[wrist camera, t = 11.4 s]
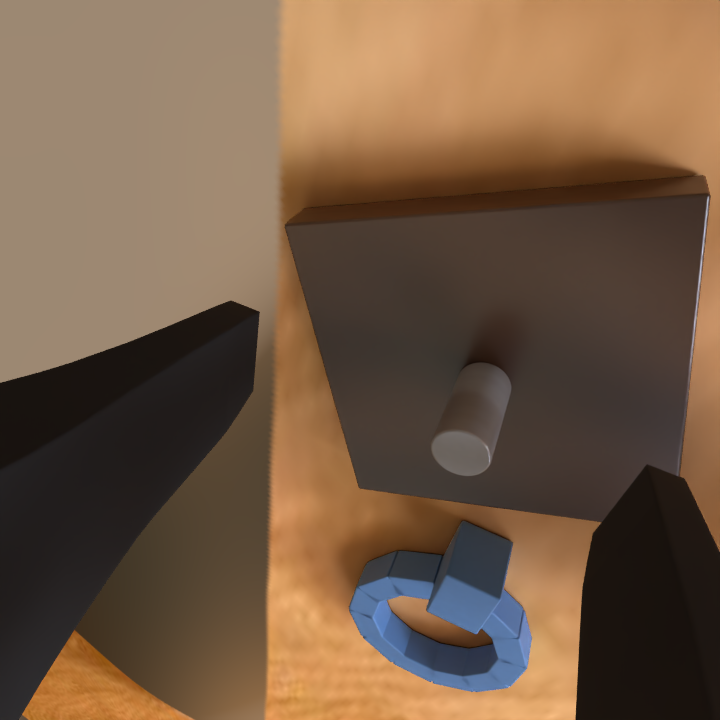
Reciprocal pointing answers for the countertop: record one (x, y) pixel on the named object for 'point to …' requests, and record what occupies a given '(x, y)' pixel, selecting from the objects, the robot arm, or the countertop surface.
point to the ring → (448, 611)
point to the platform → (510, 338)
